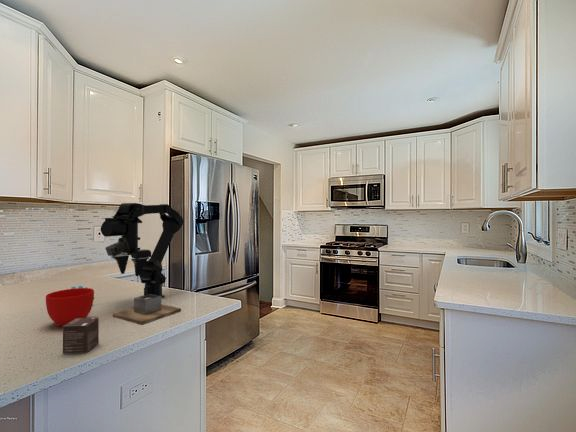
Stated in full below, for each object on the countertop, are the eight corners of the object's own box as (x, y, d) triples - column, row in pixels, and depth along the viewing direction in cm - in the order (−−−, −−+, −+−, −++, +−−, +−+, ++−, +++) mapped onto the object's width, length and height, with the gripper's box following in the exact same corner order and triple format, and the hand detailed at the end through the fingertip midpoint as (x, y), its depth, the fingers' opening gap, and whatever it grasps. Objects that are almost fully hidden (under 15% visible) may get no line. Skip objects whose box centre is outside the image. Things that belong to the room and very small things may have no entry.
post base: (152, 304, 121) (152, 290, 121) (181, 311, 113) (181, 296, 113) (112, 316, 107) (112, 300, 107) (141, 324, 99) (141, 307, 99)
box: (76, 344, 84) (76, 317, 84) (99, 343, 85) (99, 317, 85) (62, 354, 78) (61, 325, 78) (86, 353, 79) (86, 325, 78)
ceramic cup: (104, 311, 112) (104, 284, 112) (84, 328, 95) (84, 296, 95) (64, 314, 109) (64, 286, 109) (36, 332, 93) (36, 299, 93)
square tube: (149, 307, 114) (149, 293, 114) (161, 309, 111) (161, 296, 111) (133, 312, 108) (133, 298, 108) (145, 314, 105) (145, 300, 105)
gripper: (94, 235, 117) (95, 276, 117) (124, 237, 108) (124, 281, 108) (122, 233, 127) (123, 271, 127) (152, 235, 118) (152, 275, 118)
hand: (129, 274), depth 120 cm, fingers open, 9 cm apart
